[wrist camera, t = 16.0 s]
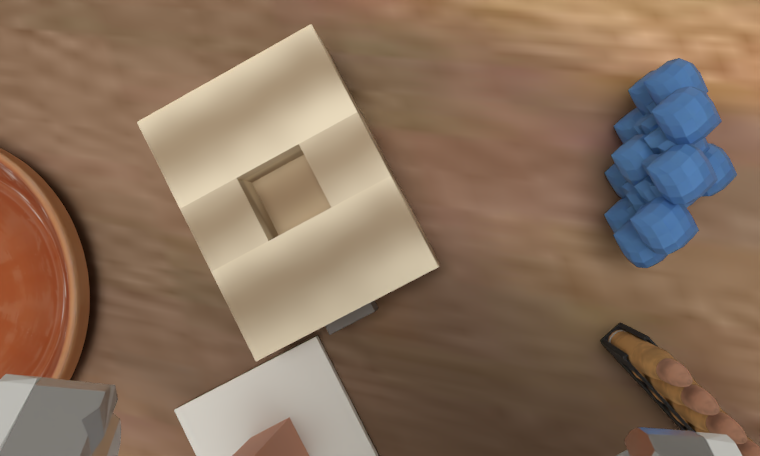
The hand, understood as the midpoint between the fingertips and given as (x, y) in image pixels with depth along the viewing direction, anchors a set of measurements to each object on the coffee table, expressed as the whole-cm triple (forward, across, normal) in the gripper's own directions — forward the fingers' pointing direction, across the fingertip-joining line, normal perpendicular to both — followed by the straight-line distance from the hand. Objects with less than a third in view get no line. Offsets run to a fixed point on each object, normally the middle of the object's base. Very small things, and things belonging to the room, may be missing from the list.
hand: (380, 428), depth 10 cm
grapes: (+29, -19, +10) cm, 36 cm away
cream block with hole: (+30, +2, +16) cm, 34 cm away
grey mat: (+20, +1, +29) cm, 36 cm away
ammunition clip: (+20, -22, +21) cm, 37 cm away
